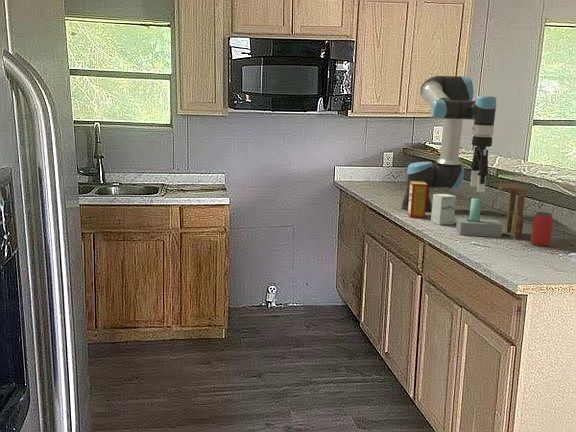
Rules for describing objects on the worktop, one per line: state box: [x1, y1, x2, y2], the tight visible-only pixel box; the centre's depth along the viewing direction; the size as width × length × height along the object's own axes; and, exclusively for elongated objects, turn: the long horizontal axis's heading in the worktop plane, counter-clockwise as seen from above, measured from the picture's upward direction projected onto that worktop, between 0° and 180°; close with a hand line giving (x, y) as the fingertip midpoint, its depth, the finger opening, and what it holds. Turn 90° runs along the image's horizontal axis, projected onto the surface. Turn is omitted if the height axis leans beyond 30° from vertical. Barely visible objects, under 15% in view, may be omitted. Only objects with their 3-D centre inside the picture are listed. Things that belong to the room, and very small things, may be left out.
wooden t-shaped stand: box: [493, 182, 528, 240], centre depth 223 cm, size 14×9×20 cm, turn 173°
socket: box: [455, 217, 504, 238], centre depth 226 cm, size 10×16×5 cm, turn 82°
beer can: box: [530, 211, 554, 247], centre depth 209 cm, size 7×7×12 cm
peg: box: [469, 197, 483, 222], centre depth 225 cm, size 4×4×14 cm
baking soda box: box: [407, 181, 428, 219], centre depth 257 cm, size 10×6×16 cm
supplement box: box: [430, 193, 457, 226], centre depth 243 cm, size 7×7×13 cm
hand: (477, 189), depth 223 cm, fingers open, 13 cm apart
